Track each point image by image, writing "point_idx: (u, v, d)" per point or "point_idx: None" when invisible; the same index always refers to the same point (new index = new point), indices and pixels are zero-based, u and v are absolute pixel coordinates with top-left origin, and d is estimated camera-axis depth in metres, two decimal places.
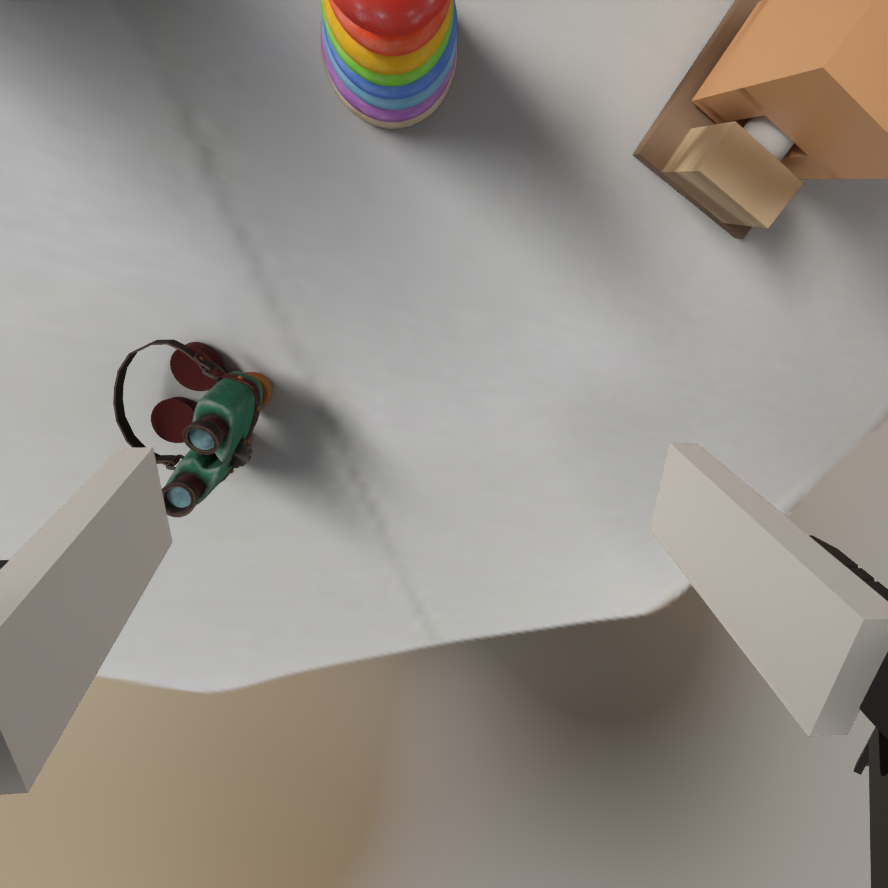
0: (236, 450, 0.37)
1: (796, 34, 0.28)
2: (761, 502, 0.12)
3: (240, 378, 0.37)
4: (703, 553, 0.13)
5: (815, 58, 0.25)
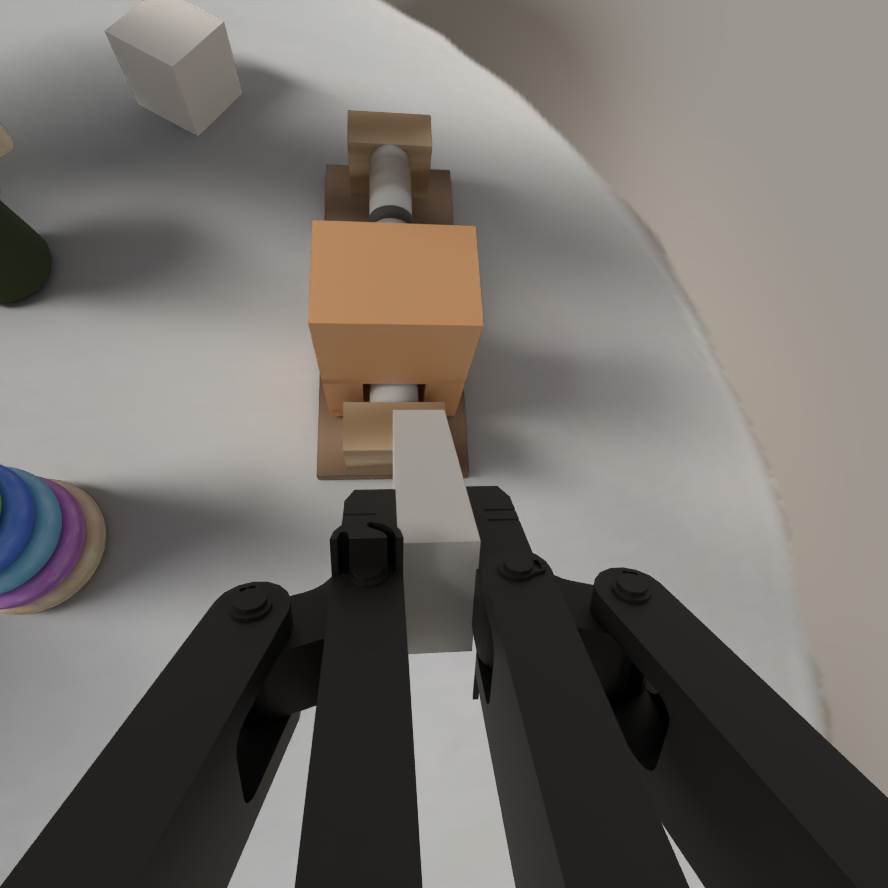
0: None
1: None
2: (450, 456, 0.13)
3: None
4: None
5: None
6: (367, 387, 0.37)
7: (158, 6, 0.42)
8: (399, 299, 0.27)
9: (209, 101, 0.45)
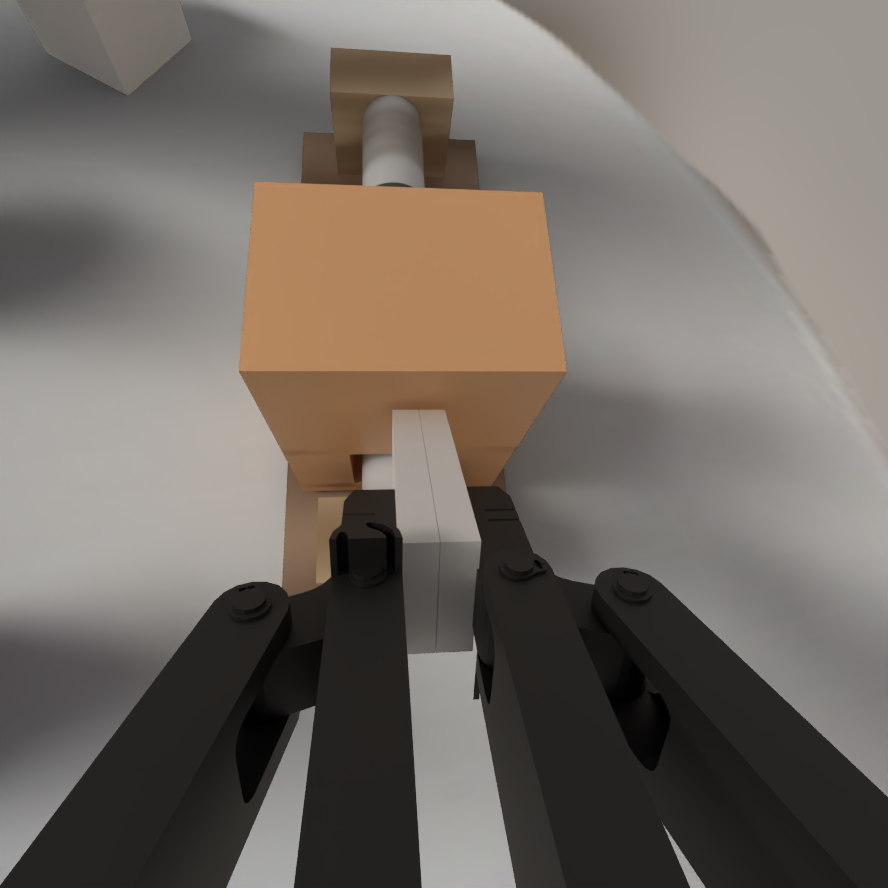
0: None
1: None
2: (451, 456, 0.13)
3: None
4: None
5: None
6: None
7: None
8: (410, 322, 0.15)
9: (142, 47, 0.32)
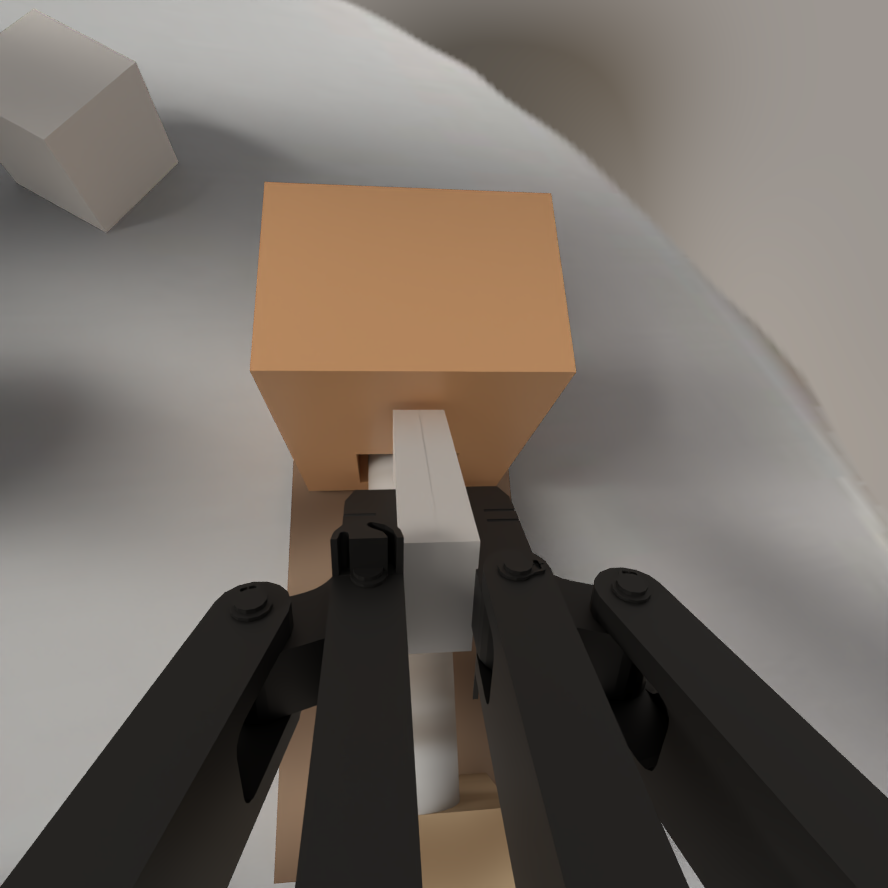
0: None
1: None
2: (450, 456, 0.13)
3: None
4: None
5: None
6: None
7: (30, 38, 0.26)
8: (420, 323, 0.15)
9: (122, 182, 0.29)
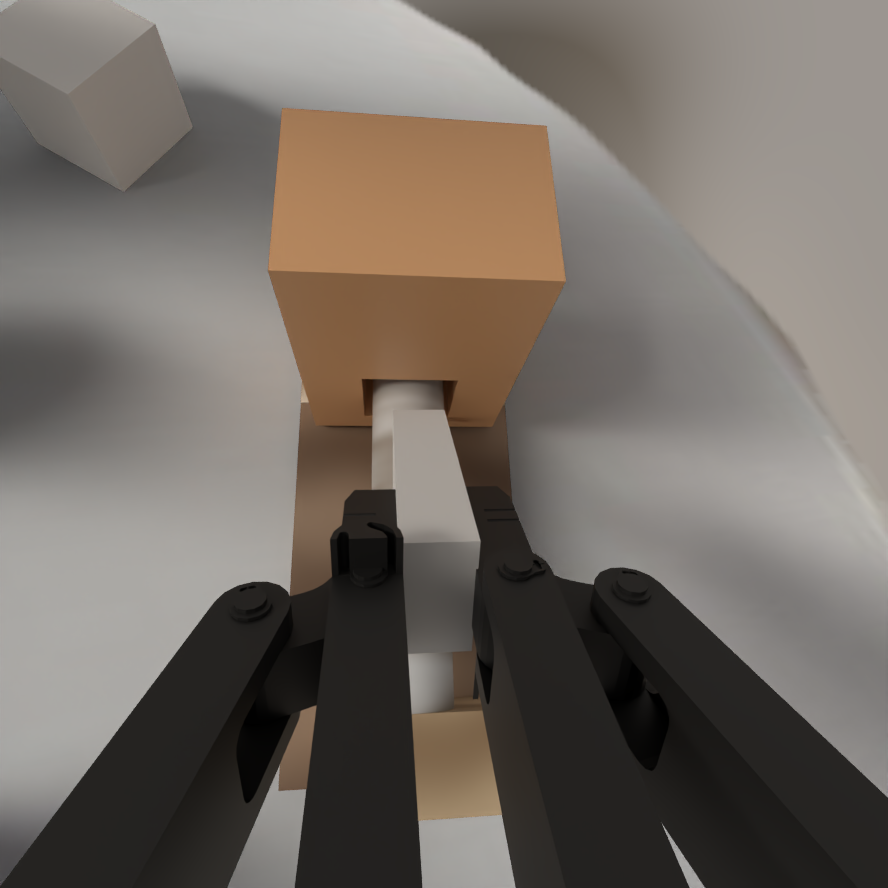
0: None
1: None
2: (450, 456, 0.13)
3: None
4: None
5: None
6: (369, 385, 0.26)
7: (54, 0, 0.27)
8: (424, 234, 0.16)
9: (139, 142, 0.30)
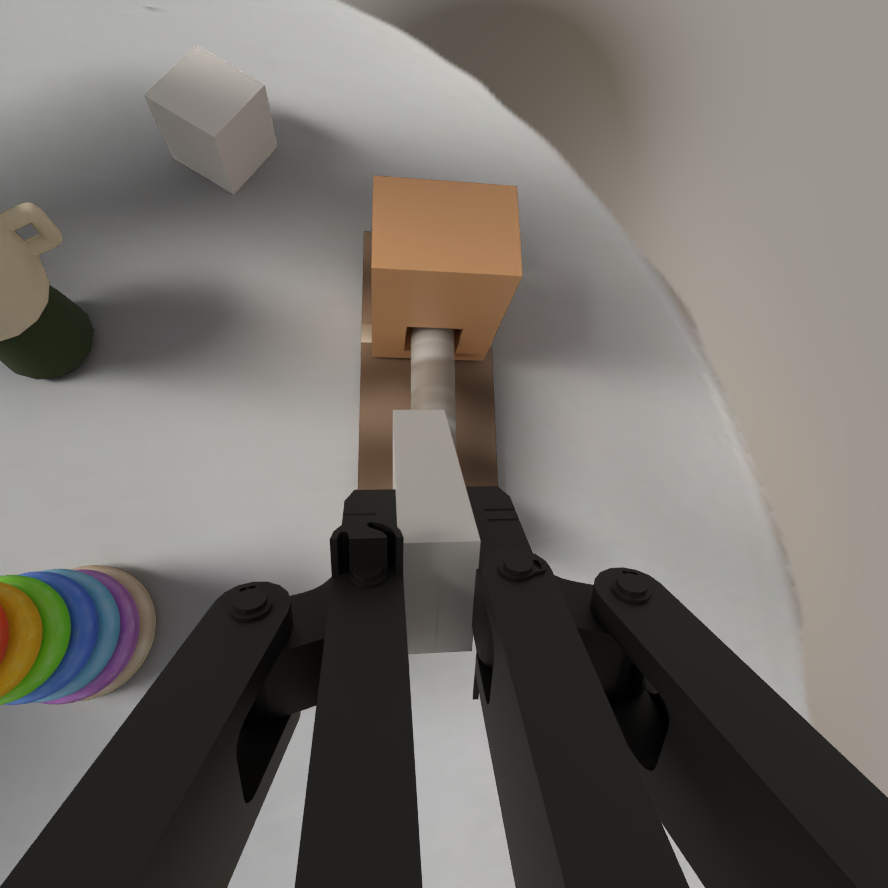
0: None
1: None
2: (450, 456, 0.13)
3: None
4: None
5: None
6: (406, 331, 0.41)
7: (197, 66, 0.41)
8: (449, 249, 0.31)
9: (246, 161, 0.44)
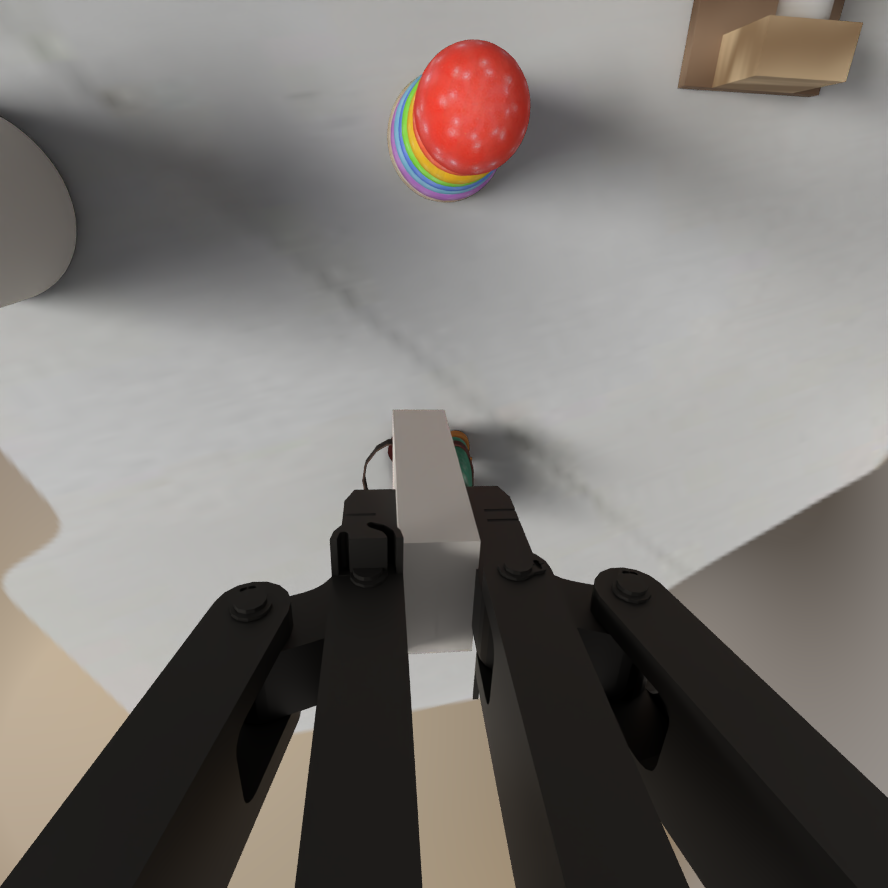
0: None
1: None
2: (450, 456, 0.13)
3: None
4: None
5: None
6: None
7: None
8: None
9: None
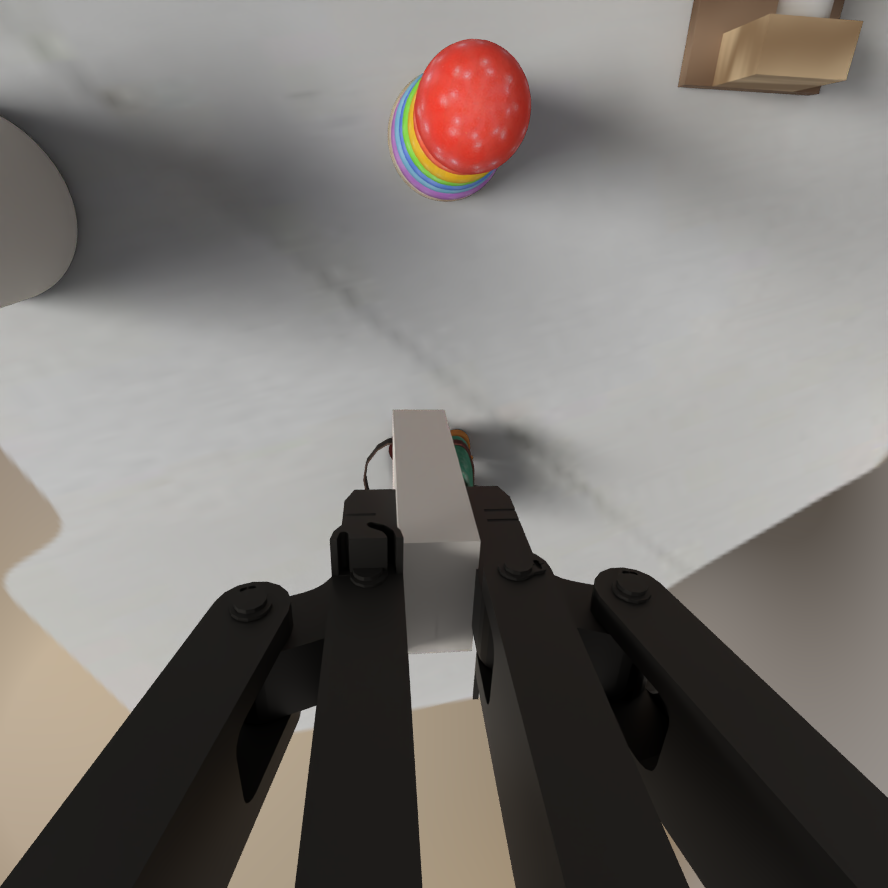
0: None
1: None
2: (450, 456, 0.13)
3: None
4: None
5: None
6: None
7: None
8: None
9: None
